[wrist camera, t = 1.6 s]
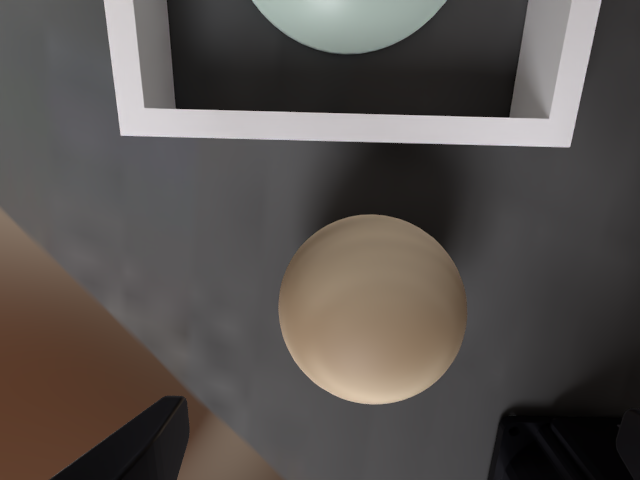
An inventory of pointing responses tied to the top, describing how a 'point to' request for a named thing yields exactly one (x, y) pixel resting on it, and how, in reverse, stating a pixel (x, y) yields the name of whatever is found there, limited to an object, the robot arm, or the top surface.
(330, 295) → the wooden ball
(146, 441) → the robot arm
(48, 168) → the top surface
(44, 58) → the top surface
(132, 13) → the white square frame
